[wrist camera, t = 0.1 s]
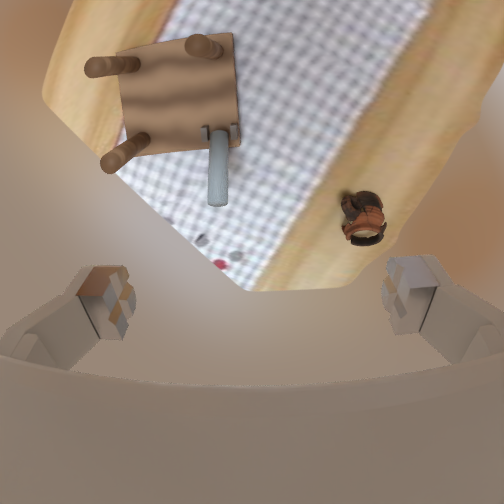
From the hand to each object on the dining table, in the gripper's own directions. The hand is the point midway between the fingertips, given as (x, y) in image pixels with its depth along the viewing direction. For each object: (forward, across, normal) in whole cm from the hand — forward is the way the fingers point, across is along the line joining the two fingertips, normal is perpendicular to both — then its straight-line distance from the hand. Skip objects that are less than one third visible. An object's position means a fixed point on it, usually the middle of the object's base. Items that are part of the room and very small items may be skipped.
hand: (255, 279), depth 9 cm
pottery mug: (+48, -18, +21) cm, 56 cm away
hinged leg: (+44, +7, +4) cm, 45 cm away
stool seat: (+48, +14, -3) cm, 50 cm away
